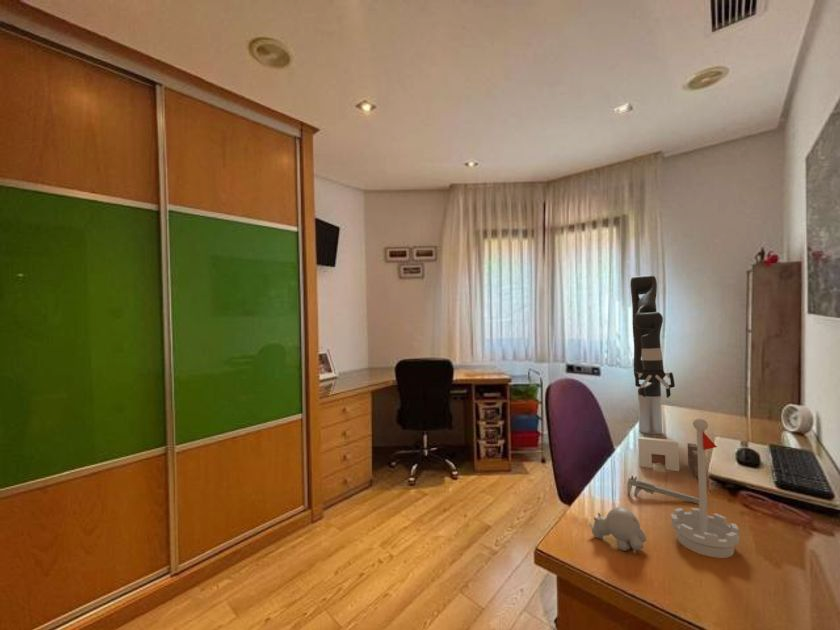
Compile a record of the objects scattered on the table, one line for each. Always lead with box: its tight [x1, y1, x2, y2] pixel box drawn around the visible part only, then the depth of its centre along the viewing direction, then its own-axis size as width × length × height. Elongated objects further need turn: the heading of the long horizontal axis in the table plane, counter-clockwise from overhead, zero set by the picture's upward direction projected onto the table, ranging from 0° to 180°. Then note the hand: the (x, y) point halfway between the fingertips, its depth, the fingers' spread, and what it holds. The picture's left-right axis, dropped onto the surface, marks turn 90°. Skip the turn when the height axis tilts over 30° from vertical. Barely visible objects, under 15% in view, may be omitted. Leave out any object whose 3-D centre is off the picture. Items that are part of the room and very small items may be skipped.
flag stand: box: [670, 417, 740, 559], centre depth 91 cm, size 13×13×30 cm
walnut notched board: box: [687, 442, 698, 479], centre depth 131 cm, size 12×2×8 cm, turn 154°
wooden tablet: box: [651, 454, 665, 466], centre depth 150 cm, size 27×10×2 cm, turn 151°
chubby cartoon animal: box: [588, 507, 647, 552], centre depth 92 cm, size 7×12×8 cm, turn 46°
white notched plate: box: [637, 436, 680, 472], centre depth 136 cm, size 2×12×10 cm, turn 64°
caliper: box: [626, 474, 709, 506], centre depth 113 cm, size 20×1×6 cm, turn 69°
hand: (655, 397), depth 161 cm, fingers open, 8 cm apart
